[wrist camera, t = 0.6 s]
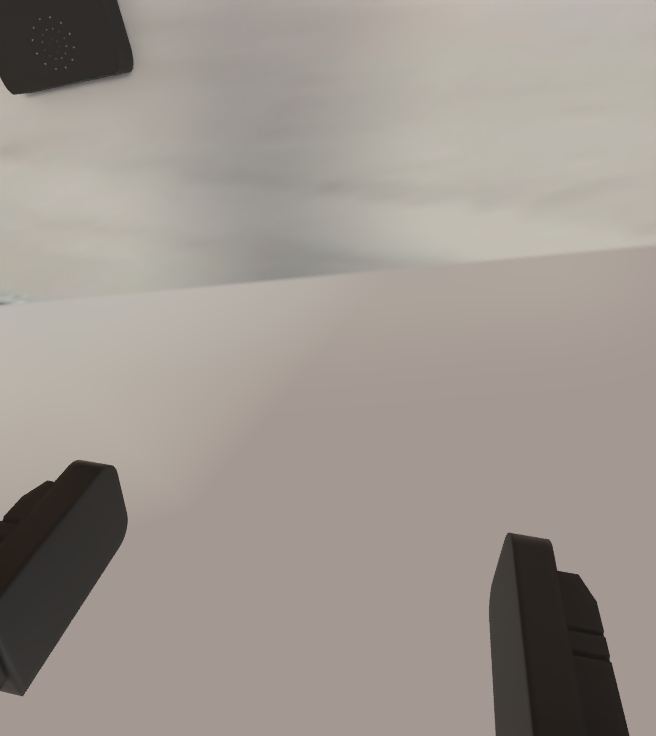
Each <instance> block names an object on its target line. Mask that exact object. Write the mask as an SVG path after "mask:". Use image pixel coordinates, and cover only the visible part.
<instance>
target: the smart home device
mask: <svg viewBox="0 0 656 736" xmlns="http://www.w3.org/2000/svg"><path fill="white" fill-rule="evenodd" d="M132 67H133V58H132V52H131V48H130V44H129V41H128V38H127V34H126V31H125V27H124V24H123V21H122V17H121V14H120V11H119V7H118V4H117V0H0V77H1V79H2V81H3V83H4V85H5V86H6V88H7V89H8V90H9V91H10V92H11V93H12V94H14V95H15V94H24V93H32V92H36V91H41V90H46V89H51V88H55V87H60V86H65V85H71V84H75V83H80V82H85V81H89V80H93V79H98V78H103V77H108V76H112V75H117V74H122V73H127V72H130V71H131V70H132Z"/></svg>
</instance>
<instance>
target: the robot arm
mask: <svg viewBox="0 0 656 736" xmlns="http://www.w3.org/2000/svg"><path fill="white" fill-rule="evenodd" d="M127 523H128V518H127V512H126V507H125V503H124V499H123V495H122V490H121V486H120V482H119V477H118V473H117V470H116V469H115V467H114V466H112V465H107V464H101V463H95V462H88V461H83V460H77V461H74V462H73V463H71V464H70V465H69V466H68V467H67V468H66V470H65V471H64V472H63V473H62V474H61V475H60V476H59V477H58V479H57V480H56V481H55V482H52V481H46V482H44V483H43V484H41V485H40V486H38V487H37V488H35V489H33V490H32V491H30V492H29V493H27V494H25V495H24V496H22V497H21V498H20V500H19V501H18V502H17V503H16V504H15V505H14V506H13V507H12V508H11V509H10V510H9V511H8V513H7V514H6V515H5V516H4V519H3V521H0V691H3V692H7V693H11V694H15V695H20V696H23V695H24V694H25V692H26V691H27V689H28V687H29V686H30V684H31V683H32V681H33V679H34V678H35V676H36V675H37V673H38V672H39V670H40V669H41V667H42V666H43V664H44V663H45V661H46V660H47V658H48V657H49V655H50V653H51V652H52V650H53V649H54V647H55V646H56V644H57V643H58V641H59V640H60V638H61V636H62V635H63V633H64V632H65V630H66V628H67V627H68V626H69V624H70V623H71V620H72V619H73V618H74V616H75V615H76V613H77V612H78V610H79V609H80V607H81V605H82V604H83V602H84V601H85V599H86V598H87V596H88V595H89V593H90V592H91V590H92V589H93V587H94V585H95V584H96V582H97V581H98V579H99V578H100V576H101V574H102V573H103V572H104V570H105V568H106V567H107V565H108V564H109V562H110V561H111V559H112V558H113V556H114V555H115V553H116V552H117V550H118V548H119V547H120V545H121V543H122V541H123V539H124V536H125V533H126V529H127ZM489 622H490V640H491V658H492V675H493V693H494V712H495V729H496V736H629V732H628V728H627V724H626V720H625V716H624V712H623V708H622V703H621V699H620V695H619V691H618V688H617V683H616V679H615V675H614V671H613V667H612V663H611V662H610V660H609V658H610V655H609V650H608V646H607V642H606V638H605V637H604V635H603V633H604V630H603V626H602V622H601V618H600V614H599V610H598V606H597V602H596V600H595V599H594V597H593V596H592V594H591V593H590V591H589V590H588V588H587V587H586V585H585V584H584V582H583V581H582V579H581V578H580V576H579V575H578V574H573V573H567V572H561V571H557V568H556V562H555V557H554V551H553V547H552V544H551V542H550V540H549V539H543V538H537V537H531V536H525V535H519V534H513V533H508V534H507V535H506V537H505V540H504V544H503V547H502V551H501V554H500V557H499V561H498V565H497V568H496V571H495V575H494V578H493V582H492V586H491V592H490V602H489Z"/></svg>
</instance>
